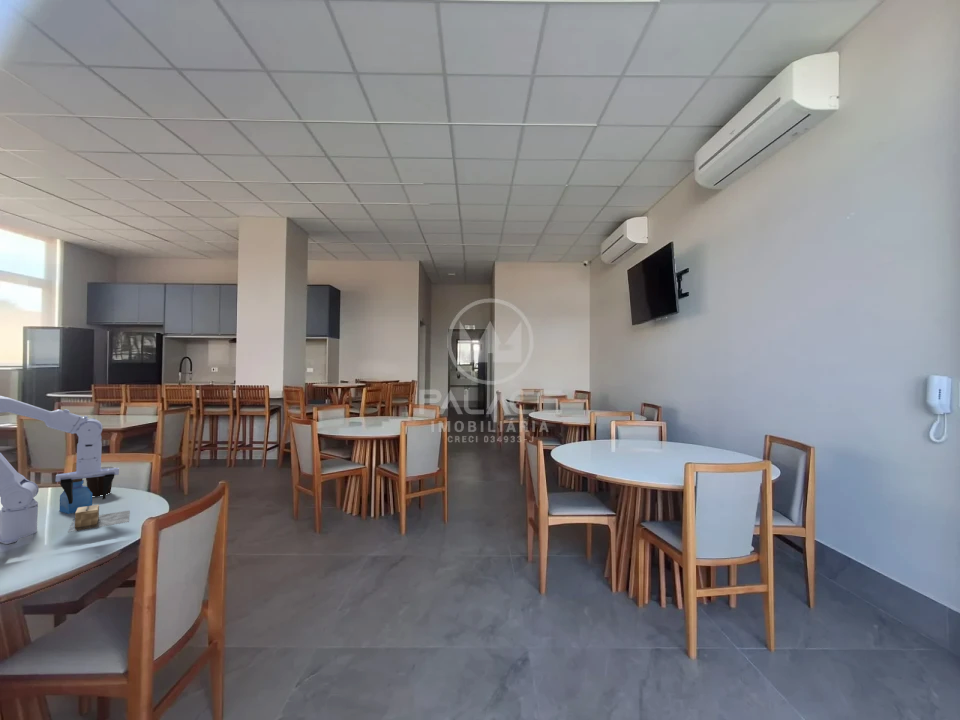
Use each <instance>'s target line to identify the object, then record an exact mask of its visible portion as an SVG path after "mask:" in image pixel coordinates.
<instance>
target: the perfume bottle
mask: <svg viewBox="0 0 960 720" xmlns="http://www.w3.org/2000/svg"><path fill="white" fill-rule="evenodd" d="M84 481H85V480H84V478H82V479H73V490H72V491H73V502H72V504H69V501H68V498H67V495H66V493H65V491H64V490H63V491H62V492H61V493H60V496H59V512H61V513H65V514H68V515H70V514H75V513H76V510H77V508H79V507H85V506H92V505H93V497H92V492H91V491H90V490H89V489H88V487H87V485H86V486H85V485H83V484H84V483H85V482H84Z"/></svg>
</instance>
